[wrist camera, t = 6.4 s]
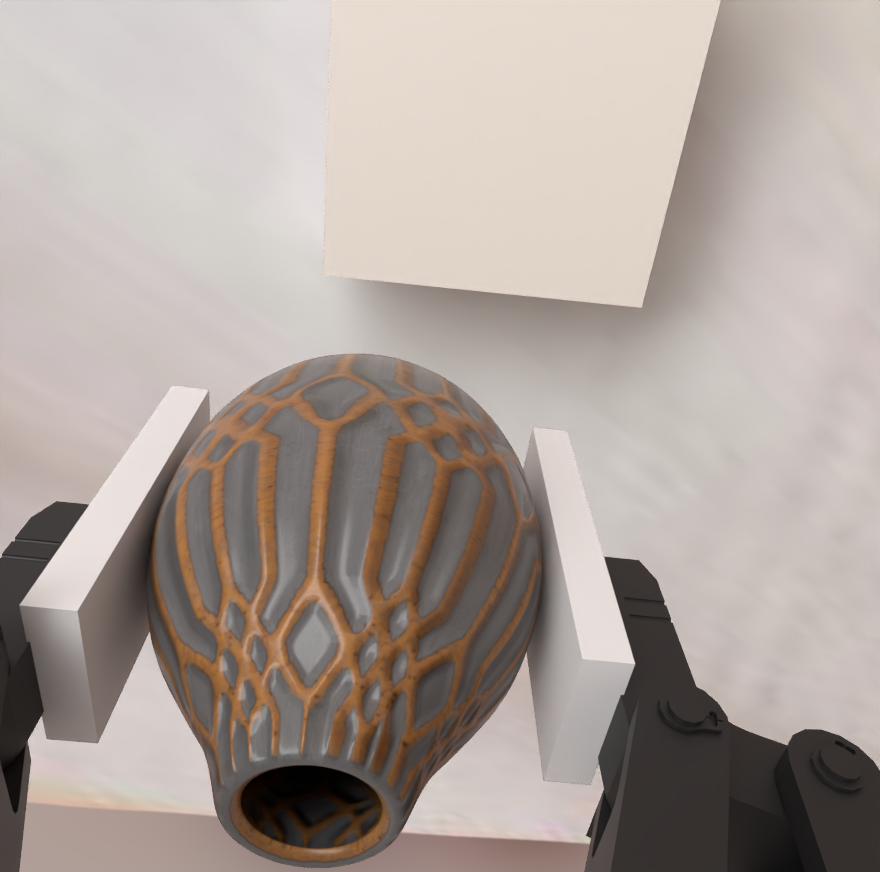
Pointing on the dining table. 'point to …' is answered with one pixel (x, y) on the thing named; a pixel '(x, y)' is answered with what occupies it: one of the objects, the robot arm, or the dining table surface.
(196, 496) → the vase
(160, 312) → the dining table surface
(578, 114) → the riser block
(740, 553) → the dining table surface
